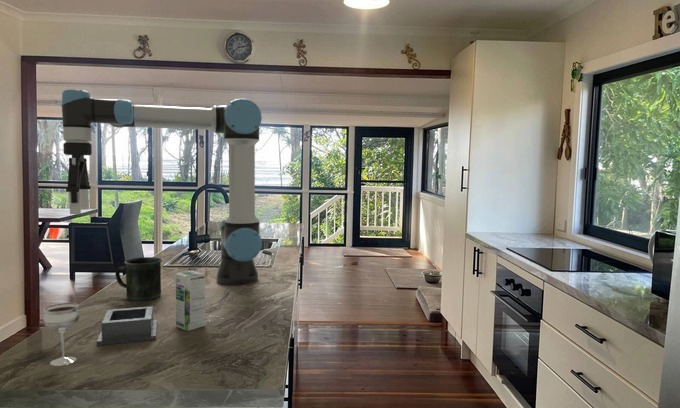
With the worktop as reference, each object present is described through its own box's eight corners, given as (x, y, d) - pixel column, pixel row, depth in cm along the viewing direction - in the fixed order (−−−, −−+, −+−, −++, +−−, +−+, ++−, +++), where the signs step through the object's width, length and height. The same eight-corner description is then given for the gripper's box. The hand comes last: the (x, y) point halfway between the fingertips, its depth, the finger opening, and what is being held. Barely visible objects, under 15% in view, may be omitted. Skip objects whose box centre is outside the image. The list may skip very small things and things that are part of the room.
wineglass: (42, 369, 99) (40, 313, 98) (47, 357, 105) (45, 304, 104) (79, 364, 102) (77, 310, 101) (82, 353, 108) (80, 301, 107)
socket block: (157, 322, 129) (157, 304, 129) (155, 339, 117) (155, 319, 116) (104, 327, 125) (103, 309, 124) (96, 345, 113) (96, 325, 112)
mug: (154, 302, 148) (153, 264, 147) (108, 301, 149) (107, 263, 148) (167, 292, 159) (167, 257, 158) (124, 291, 159) (123, 256, 158)
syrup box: (174, 326, 126) (174, 273, 125) (194, 321, 131) (193, 269, 130) (186, 331, 123) (185, 276, 121) (206, 326, 127) (205, 272, 126)
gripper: (72, 143, 155) (74, 208, 156) (53, 140, 131) (56, 216, 133) (97, 143, 157) (99, 207, 159) (83, 140, 134) (86, 215, 135)
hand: (79, 211), depth 146 cm, fingers open, 13 cm apart
